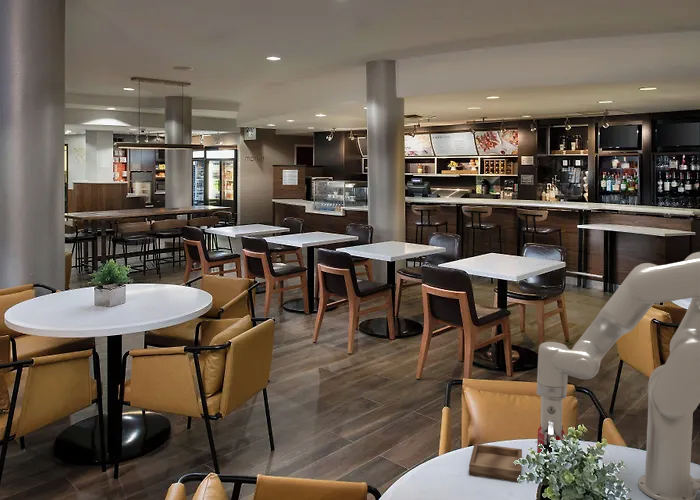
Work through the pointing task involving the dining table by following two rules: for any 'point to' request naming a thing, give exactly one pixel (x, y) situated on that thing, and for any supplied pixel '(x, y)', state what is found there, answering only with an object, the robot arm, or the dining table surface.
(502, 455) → the walnut tray
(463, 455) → the dining table surface
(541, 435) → the soda can
